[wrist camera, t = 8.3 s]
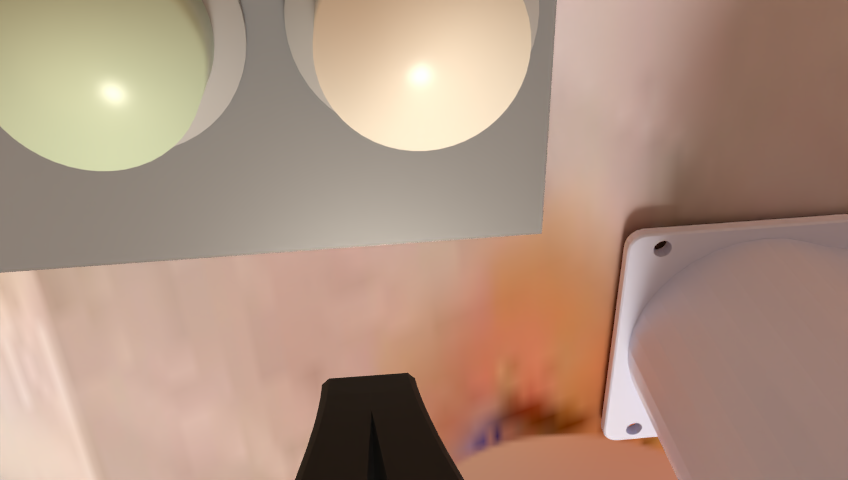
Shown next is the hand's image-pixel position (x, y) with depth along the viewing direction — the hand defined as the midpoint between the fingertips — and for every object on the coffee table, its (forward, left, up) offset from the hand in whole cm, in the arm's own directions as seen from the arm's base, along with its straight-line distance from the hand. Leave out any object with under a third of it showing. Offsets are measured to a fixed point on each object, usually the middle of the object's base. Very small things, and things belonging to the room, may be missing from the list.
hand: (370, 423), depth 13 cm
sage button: (+5, -4, -7) cm, 9 cm away
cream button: (-1, -4, -7) cm, 8 cm away
